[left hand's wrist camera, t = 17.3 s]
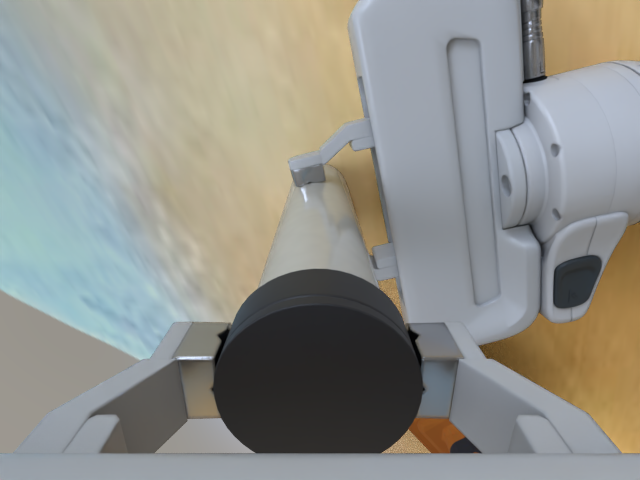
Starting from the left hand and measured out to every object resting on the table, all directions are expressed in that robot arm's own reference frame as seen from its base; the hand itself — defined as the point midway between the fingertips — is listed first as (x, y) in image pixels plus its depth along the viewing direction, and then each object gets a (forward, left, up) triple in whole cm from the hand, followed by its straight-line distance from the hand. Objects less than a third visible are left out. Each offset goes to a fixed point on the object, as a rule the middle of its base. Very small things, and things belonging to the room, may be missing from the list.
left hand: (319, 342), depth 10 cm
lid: (0, 0, +2) cm, 2 cm away
